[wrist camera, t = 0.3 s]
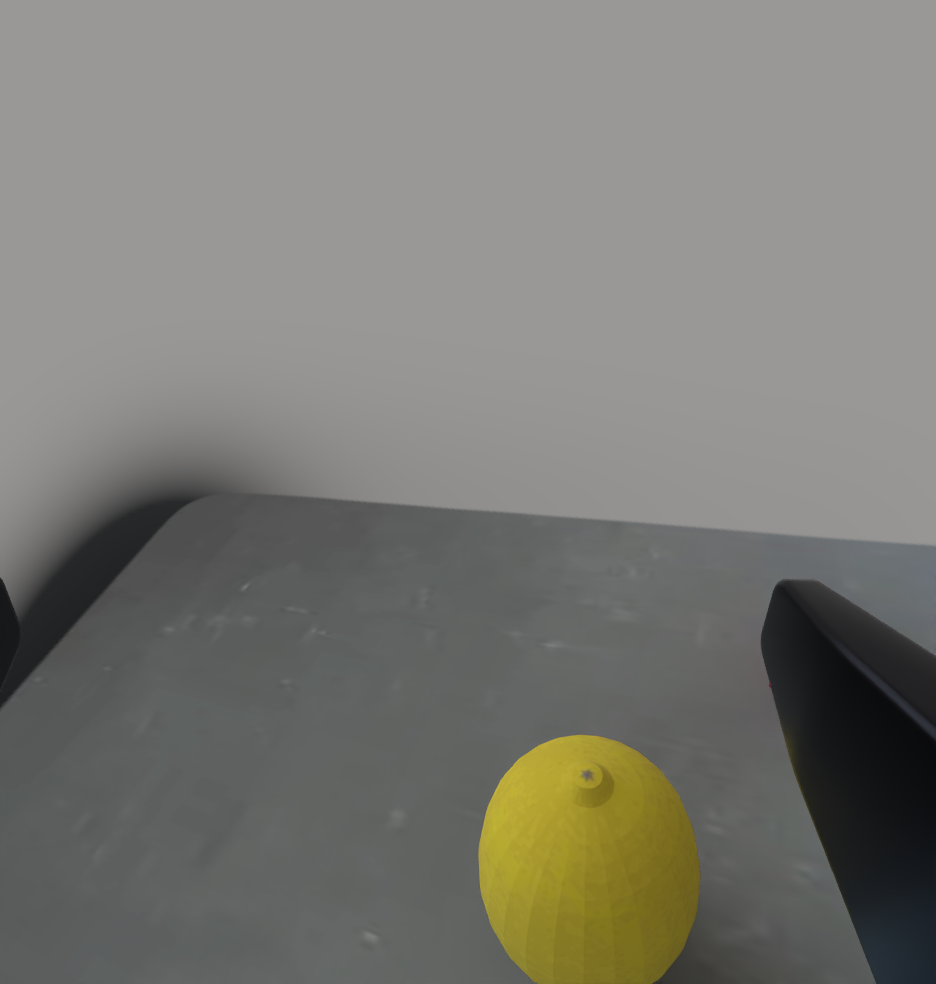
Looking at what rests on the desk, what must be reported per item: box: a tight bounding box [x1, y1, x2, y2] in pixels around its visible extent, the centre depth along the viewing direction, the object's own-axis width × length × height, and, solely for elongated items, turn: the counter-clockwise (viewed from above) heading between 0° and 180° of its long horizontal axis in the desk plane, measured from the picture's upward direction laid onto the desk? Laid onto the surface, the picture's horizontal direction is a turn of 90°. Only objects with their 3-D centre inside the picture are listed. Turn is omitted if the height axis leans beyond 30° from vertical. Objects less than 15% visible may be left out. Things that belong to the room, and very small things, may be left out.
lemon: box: [479, 735, 700, 984], centre depth 19 cm, size 6×6×8 cm
